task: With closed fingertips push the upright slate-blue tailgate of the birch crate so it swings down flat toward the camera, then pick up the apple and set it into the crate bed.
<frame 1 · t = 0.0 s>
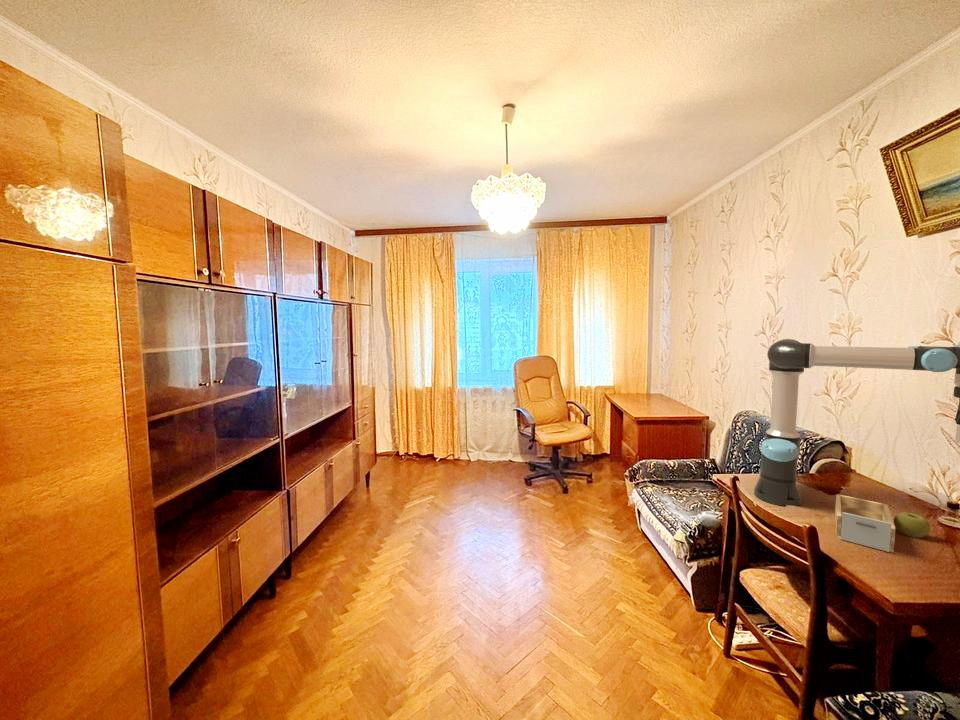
tailgate: (865, 531, 120), point 6 cm above the table, hinge at 0.0°
apple: (910, 536, 127), on the table
crate: (861, 532, 129), on the table
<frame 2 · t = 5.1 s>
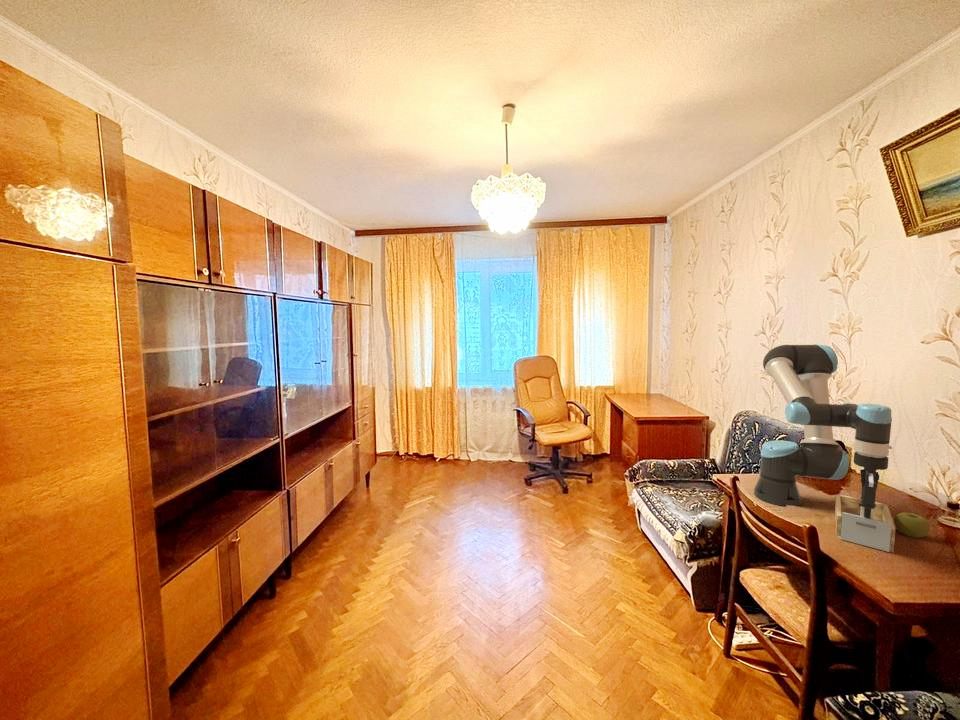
hand: (865, 526, 121), 7 cm above the table, fingers closed
tailgate: (865, 531, 120), point 5 cm above the table, hinge at 0.1°, touching gripper
everything else where it was.
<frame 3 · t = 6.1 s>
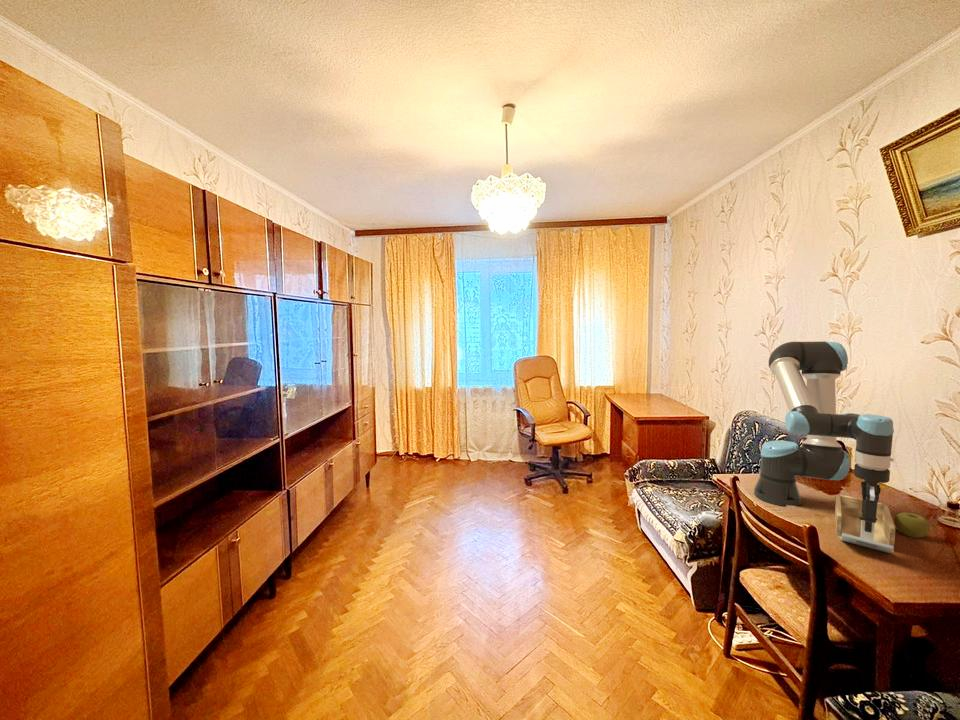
hand: (866, 540, 117), 4 cm above the table, fingers closed
tailgate: (865, 543, 117), point 3 cm above the table, hinge at 56.4°, touching gripper
everything else where it was.
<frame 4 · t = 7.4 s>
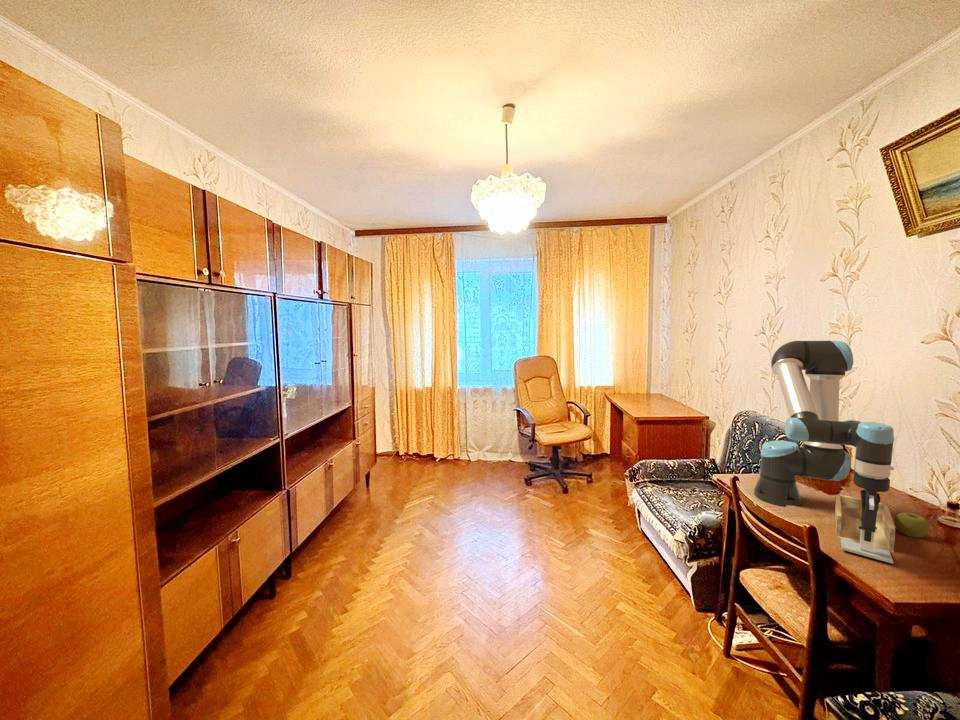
hand: (866, 549, 116), 3 cm above the table, fingers closed
tailgate: (865, 550, 117), point 1 cm above the table, hinge at 82.7°
everything else where it was.
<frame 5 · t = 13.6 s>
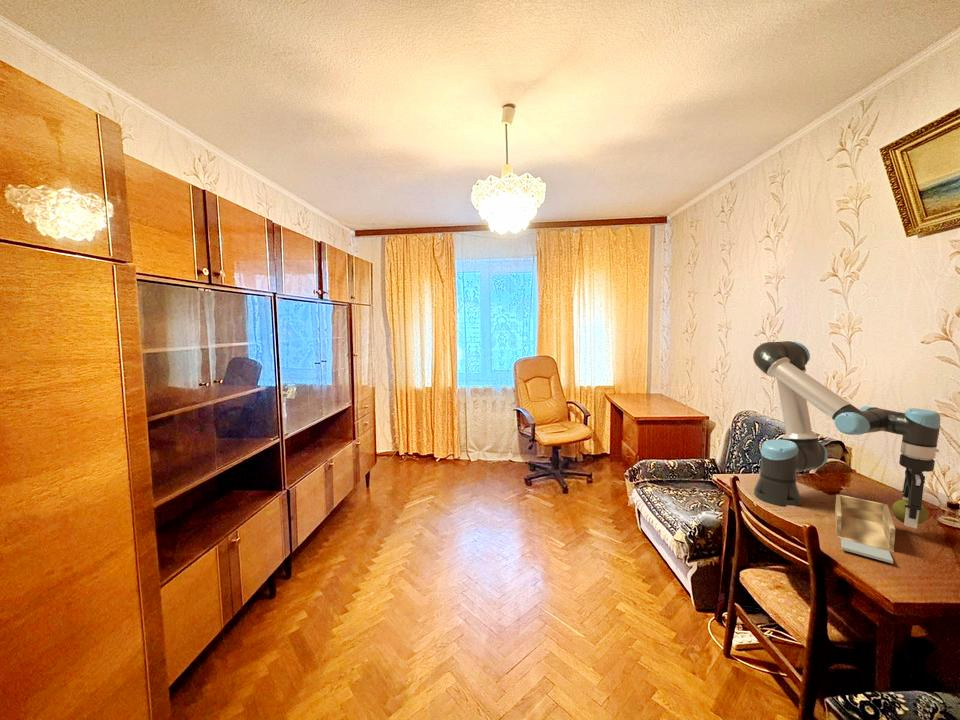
hand: (908, 521, 127), 5 cm above the table, fingers closed on apple, 7 cm apart
apple: (908, 523, 127), point 4 cm above the table, touching gripper
everything else where it was.
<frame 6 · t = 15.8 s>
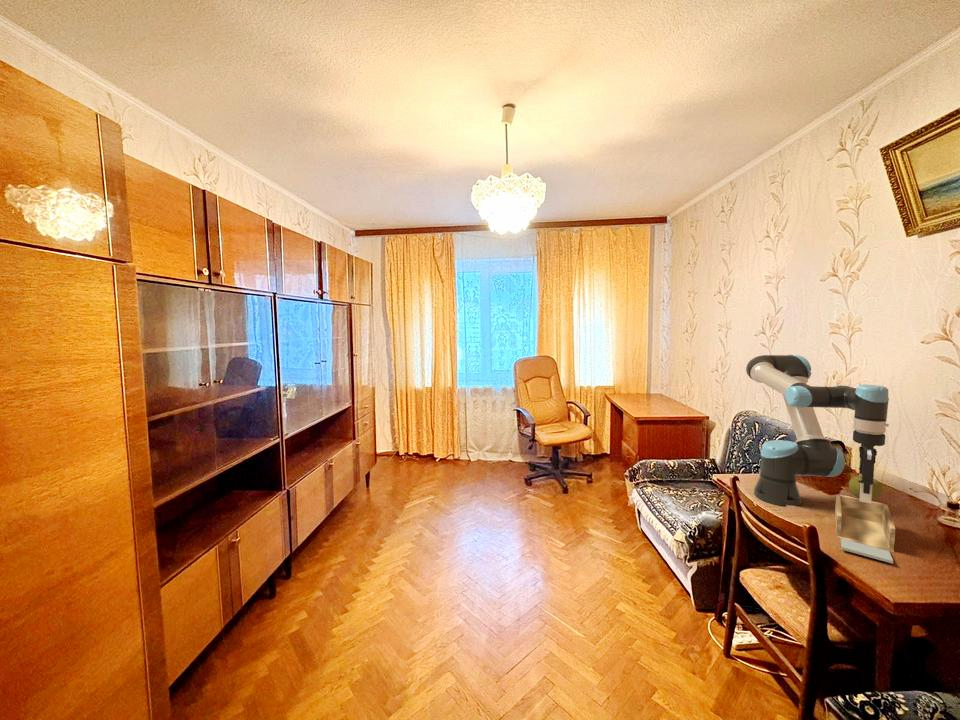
hand: (864, 497, 128), 12 cm above the table, fingers closed on apple, 7 cm apart
apple: (864, 499, 128), point 12 cm above the table, touching gripper
everything else where it was.
when the fingers open (2 cm above the table, at t = 18.0 s): apple stays where it is, resting on crate.
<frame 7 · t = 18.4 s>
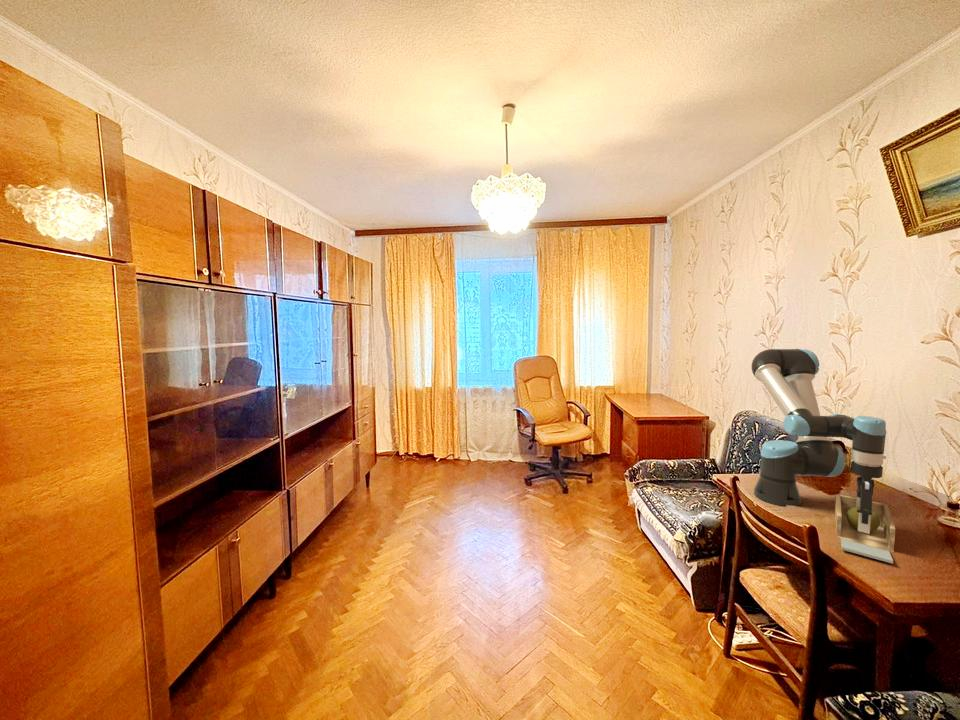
hand: (862, 524, 129), 3 cm above the table, fingers open, 13 cm apart
apple: (861, 530, 129), point 1 cm above the table, touching crate
everything else where it was.
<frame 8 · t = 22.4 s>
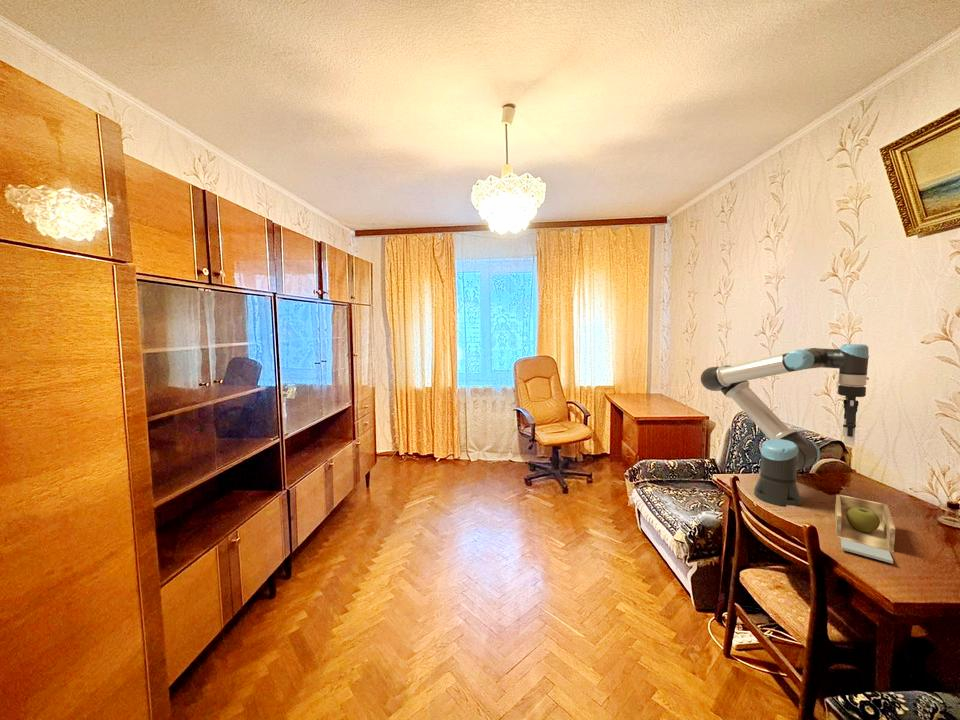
hand: (848, 440, 144), 27 cm above the table, fingers open, 13 cm apart
nothing on the table moved.
at the end: tailgate at +83° (first picture: +0°); apple inside the target area on the crate (0.5 cm from its centre), point 0.8 cm above the crate's base; the gripper is holding nothing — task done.
